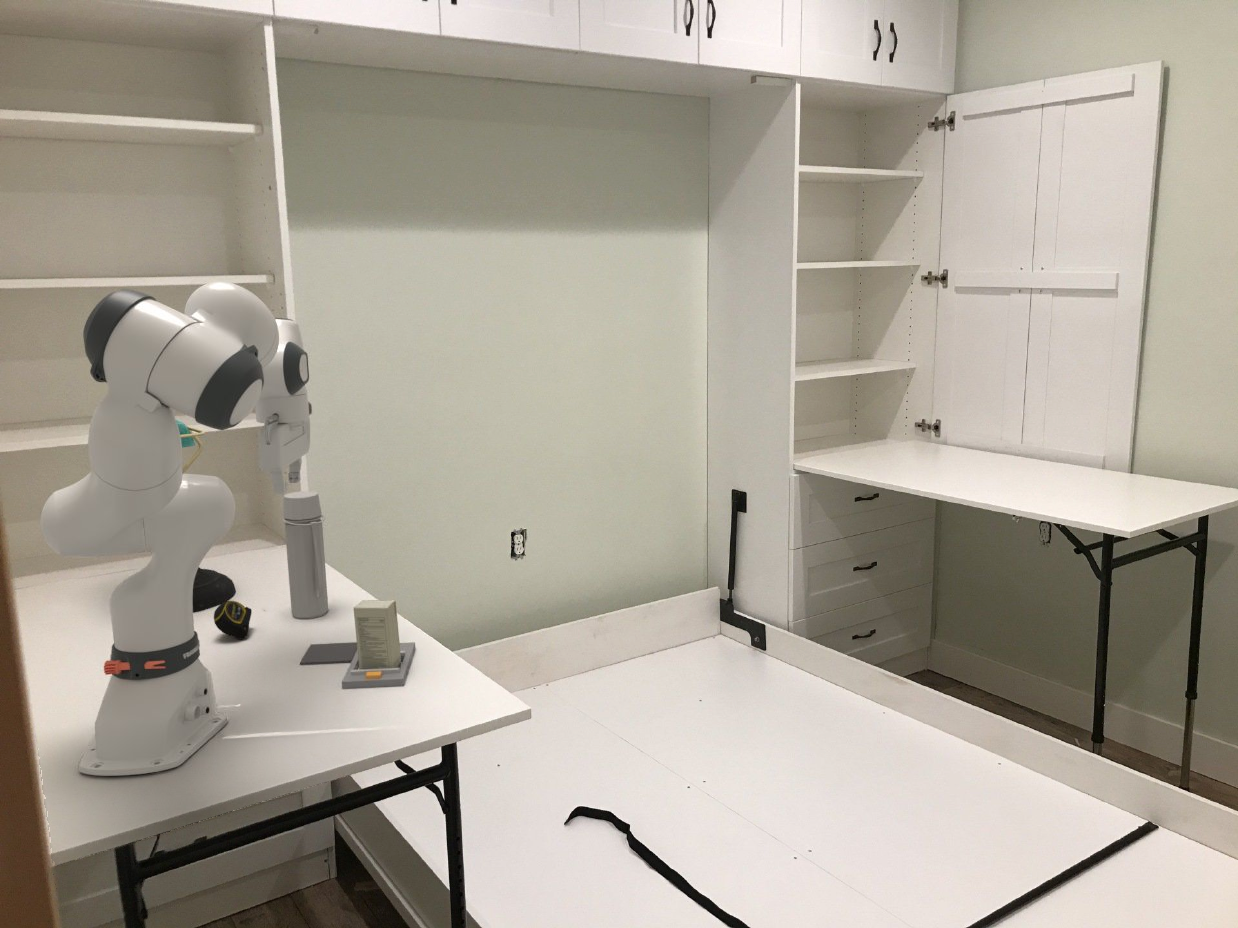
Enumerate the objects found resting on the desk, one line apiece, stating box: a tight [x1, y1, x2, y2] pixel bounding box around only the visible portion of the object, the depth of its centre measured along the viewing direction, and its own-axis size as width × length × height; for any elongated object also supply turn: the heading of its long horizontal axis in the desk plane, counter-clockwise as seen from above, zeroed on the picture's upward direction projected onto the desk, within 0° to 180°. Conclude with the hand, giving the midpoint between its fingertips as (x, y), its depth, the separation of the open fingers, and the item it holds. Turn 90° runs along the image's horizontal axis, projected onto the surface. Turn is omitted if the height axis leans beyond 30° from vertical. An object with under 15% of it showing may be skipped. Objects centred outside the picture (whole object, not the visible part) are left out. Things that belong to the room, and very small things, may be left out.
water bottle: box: [282, 490, 329, 620], centre depth 196 cm, size 9×8×25 cm
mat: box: [299, 641, 357, 666], centre depth 178 cm, size 9×9×1 cm
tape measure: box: [213, 600, 253, 640], centre depth 187 cm, size 7×7×4 cm
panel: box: [341, 641, 416, 690], centre depth 171 cm, size 17×10×2 cm, turn 5°
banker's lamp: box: [176, 419, 237, 614], centre depth 206 cm, size 26×23×40 cm
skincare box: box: [353, 599, 402, 670], centre depth 169 cm, size 6×4×12 cm
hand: (287, 487), depth 175 cm, fingers open, 8 cm apart
